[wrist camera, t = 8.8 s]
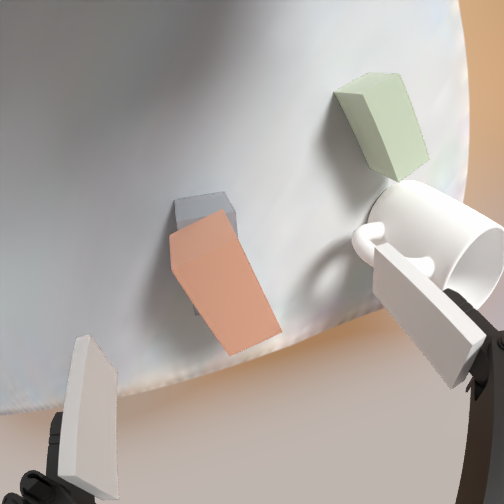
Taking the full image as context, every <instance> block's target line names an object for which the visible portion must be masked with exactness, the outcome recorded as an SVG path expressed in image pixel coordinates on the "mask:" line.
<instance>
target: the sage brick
mask: <svg viewBox="0 0 504 504" xmlns="http://www.w3.org/2000/svg"><path fill="white" fill-rule="evenodd" d="M334 94H335V96H336V98H337V100H338V102H339V104H340V106H341V108H342V110H343V112H344V114H345V116H346V118H347V120H348V122H349V124H350V126H351V128H352V130H353V132H354V134H355V137H356V139H357V141H358V143H359V145H360V147H361V150H362V152H363V154H364V157H365V159H366V161H367V163H368V166H369V168H370V169H372V170H374V171H376V172H378V173H380V174H382V175H384V176H386V177H388V178H390V179H392V180H394V181H396V182H398V183H399V182H400V181H401V180H403V179H404V178H405V177H407V176H408V175H410V174H411V173H412V172H414V171H415V170H416V169H418V168H419V167H420V166H422V165H423V164H424V163H426V162H427V161H428V160H430V158H429V154H428V151H427V148H426V144H425V141H424V138H423V135H422V132H421V129H420V126H419V123H418V120H417V117H416V114H415V112H414V109H413V106H412V103H411V101H410V98H409V96H408V93H407V91H406V88H405V86H404V83H403V81H402V78H401V76H400V74H397V73H366V74H365V75H363V76H361V77H359V78H357V79H355V80H354V81H352V82H350V83H348V84H346V85H345V86H343V87H341V88H339V89H338V90H336V91H334Z"/></svg>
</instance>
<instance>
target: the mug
mask: <svg viewBox="0 0 504 504" xmlns="http://www.w3.org/2000/svg"><path fill="white" fill-rule="evenodd" d="M387 242H388V243H389V244H390V245H392V246H393V247H394V248H395V249H396V250H397V251H398V252H400V253H401V254H402V255H403V256H404V257H405V258H406V259H408V260H409V261H410V262H411V263H412V264H413V265H414V266H415V267H417V268H418V269H419V270H420V271H421V272H422V273H423V274H424V275H425V276H426V277H428V278H429V279H430V280H431V281H432V282H433V283H434V284H435V285H436V286H437V287H438V288H439V289H440V290H441V291H443V290H445V289H447V288H449V289H452V290H454V291H456V292H458V293H459V294H460V295H461V296H463V297H464V298H465V299H466V300H467V302H469V303H470V304H471V305H472V306H473V308H475V309H476V310H478V309H479V308H480V307H481V305H482V304H483V303H484V302H485V301H486V300H487V298H488V297H489V296H490V294H491V293H492V291H493V290H494V288H495V287H496V285H497V283H498V281H499V279H500V277H501V275H502V273H503V270H504V228H503V227H502V226H501V225H499V224H497V223H496V222H494V221H492V220H491V219H489V218H487V217H485V216H484V215H482V214H480V213H478V212H477V211H475V210H473V209H471V208H470V207H468V206H466V205H464V204H463V203H461V202H459V201H457V200H455V199H453V198H451V197H450V196H448V195H446V194H444V193H442V192H440V191H438V190H436V189H434V188H432V187H430V186H428V185H426V184H423V183H421V182H418V181H413V180H406V181H401V182H399V183H396V184H394V185H392V186H390V187H389V188H388V189H387V190H385V191H384V192H383V193H382V194H381V196H380V197H379V198H378V199H377V201H376V202H375V204H374V206H373V208H372V210H371V212H370V215H369V218H368V222H367V224H364V225H361V226H359V227H358V228H357V229H356V230H355V231H354V233H353V235H352V245H353V248H354V250H355V252H356V253H357V254H358V255H359V257H360V258H361V259H363V260H364V261H365V262H366V263H368V264H369V265H370V266H372V267H373V268H374V247H376V246H378V245H381V244H384V243H387Z"/></svg>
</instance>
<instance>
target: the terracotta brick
mask: <svg viewBox="0 0 504 504" xmlns="http://www.w3.org/2000/svg"><path fill="white" fill-rule="evenodd" d="M169 240H170V258H171V271H172V272H173V274H174V275H175V277H176V278H177V280H178V282H179V283H180V285H181V286H182V288H183V289H184V291H185V292H186V294H187V295H188V297H189V298H190V300H191V301H192V303H193V304H194V306H195V307H196V309H197V310H198V312H199V313H200V315H201V316H202V318H203V319H204V321H205V322H206V323H207V325H208V326H209V328H210V329H211V331H212V332H213V334H214V335H215V336H216V338H217V339H218V341H219V342H220V343H221V345H222V346H223V348H224V349H225V350H226V352H227V353H228V355H229V356H232V355H234V354H236V353H239V352H241V351H243V350H245V349H247V348H250V347H252V346H254V345H256V344H258V343H260V342H263V341H265V340H267V339H269V338H271V337H273V336H275V335H277V334H279V333H281V332H282V330H281V328H280V326H279V324H278V322H277V320H276V317H275V315H274V313H273V311H272V309H271V307H270V305H269V303H268V301H267V299H266V297H265V295H264V292H263V290H262V288H261V286H260V284H259V282H258V280H257V278H256V276H255V274H254V272H253V269H252V267H251V265H250V263H249V261H248V259H247V257H246V255H245V253H244V251H243V248H242V246H241V244H240V242H239V240H238V238H237V236H236V234H235V232H234V230H233V228H232V226H231V224H230V222H229V220H228V218H227V216H226V214H225V212H224V210H223V209H221V210H219V211H217V212H215V213H213V214H211V215H209V216H207V217H205V218H202V219H200V220H198V221H196V222H194V223H192V224H190V225H188V226H186V227H184V228H182V229H180V230H178V231H176V232H174V233H172V234H170V235H169Z"/></svg>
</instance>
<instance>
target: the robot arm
mask: <svg viewBox="0 0 504 504" xmlns="http://www.w3.org/2000/svg"><path fill="white" fill-rule="evenodd" d="M372 293H373V294H374V296H375V297H376V298H377V299H378V300H379V301H380V303H381V304H382V305H383V306H384V307H385V308H386V310H387V311H388V312H389V313H390V314H391V315H392V317H393V318H394V319H395V320H396V321H397V323H398V324H399V325H400V326H401V327H402V329H403V330H404V331H405V332H406V334H407V335H408V336H409V337H410V338H411V340H412V341H413V342H414V343H415V345H416V346H417V347H418V348H419V350H420V351H421V352H422V353H423V355H424V356H425V357H426V358H427V360H428V361H429V362H430V363H431V365H432V366H433V367H434V368H435V370H436V371H437V372H438V373H439V375H440V376H441V377H442V379H443V380H444V381H445V383H446V384H447V385H448V386H449V388H450V389H452V388H454V387H456V386H457V385H458V384H460V383H461V382H463V381H464V380H465V378H466V376H467V375H468V373H469V372H470V373H471V375H472V376H473V377H472V379H471V381H470V382H469V384H468V386H467V387H466V392H468V390H469V389H470V387H471V397H470V412H469V424H468V434H467V442H466V450H465V456H464V463H463V469H462V475H461V480H460V485H459V490H458V494H457V498H456V503H455V504H504V331H498V330H496V329H495V328H494V327H493V326H492V325H491V324H490V323H489V322H488V321H487V320H486V319H485V318H484V317H483V316H482V315H481V314H480V313H479V312H478V311H477V310H476V309H475V308H473V306H472V305H471V304H470V303H469V302H467V300H466V299H465V298H464V297H463V296H461V295H460V294H459V293H458V292H456V291H454V290H452V289H449V288H447V289H445V290H443V291H441V290H440V289H439V288H438V287H437V286H436V285H435V284H434V283H433V282H432V281H431V280H430V279H429V278H428V277H426V276H425V275H424V274H423V273H422V272H421V271H420V270H419V269H418V268H417V267H415V266H414V265H413V264H412V263H411V262H410V261H409V260H408V259H406V258H405V257H404V256H403V255H402V254H401V253H400V252H398V251H397V250H396V249H395V248H394V247H393V246H392V245H390V244H389V243H388V242H387V243H384V244H381V245H378V246H376V247H374V269H373V288H372ZM117 380H118V372H117V371H116V369H115V368H114V367H113V365H112V364H111V363H110V361H109V360H108V359H107V357H106V356H105V355H104V353H103V352H102V350H101V349H100V348H99V346H98V345H97V343H96V342H95V340H94V339H93V338H92V336H91V335H90V334H88V335H85V336H81V337H77V338H76V341H75V346H74V350H73V355H72V360H71V366H70V371H69V377H68V383H67V389H66V395H65V402H64V410H63V412H57V413H56V414H55V416H54V418H53V420H52V422H51V428H50V437H49V446H48V455H47V468H46V476H45V475H43V474H42V473H40V472H38V471H36V470H31V471H28V472H27V473H25V474H24V476H23V477H22V479H21V482H20V491H21V494H22V496H23V497H21V496H19V495H18V494H15V493H8V494H7V495H6V496H5V497H4V499H3V501H2V504H96V503H95V498H94V496H95V497H97V498H99V499H101V500H119V486H118V470H117V437H116V436H117V432H116V431H117V430H116V420H117V419H116V418H117V417H116V415H117Z"/></svg>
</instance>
